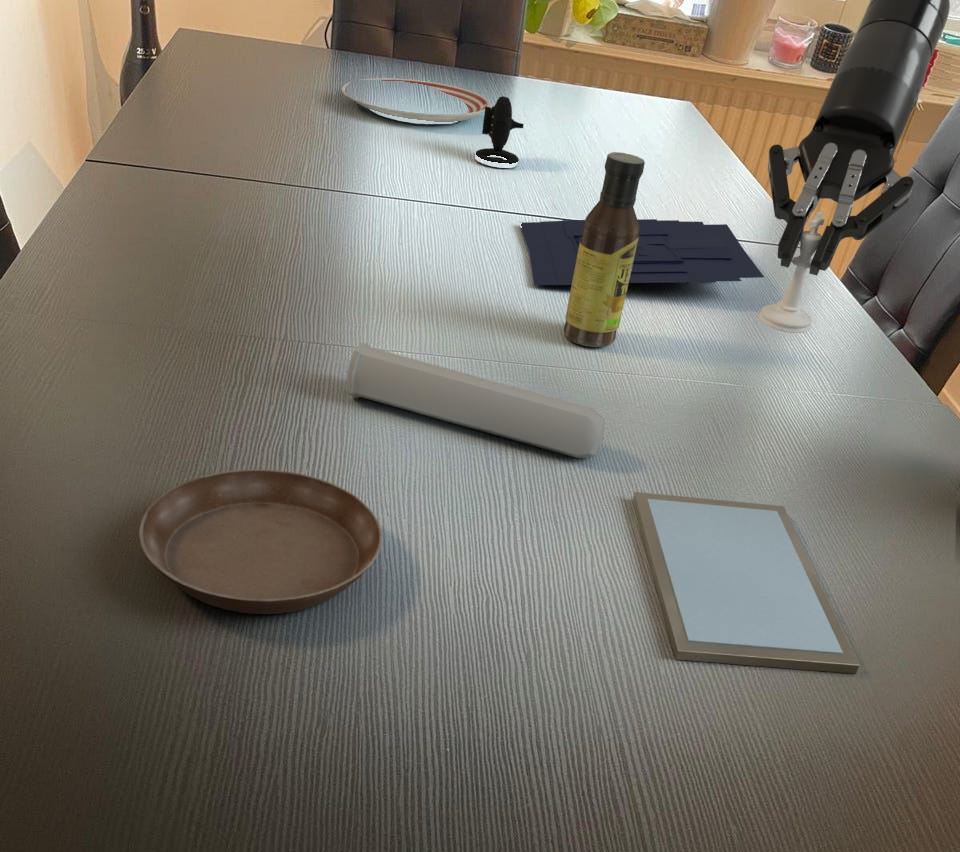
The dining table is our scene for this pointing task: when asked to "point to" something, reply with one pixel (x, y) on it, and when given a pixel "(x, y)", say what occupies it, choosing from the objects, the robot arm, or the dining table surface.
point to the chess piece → (795, 287)
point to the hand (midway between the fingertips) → (799, 265)
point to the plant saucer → (260, 539)
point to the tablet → (739, 585)
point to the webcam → (499, 131)
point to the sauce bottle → (605, 256)
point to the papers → (644, 252)
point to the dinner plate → (471, 99)
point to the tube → (475, 402)
